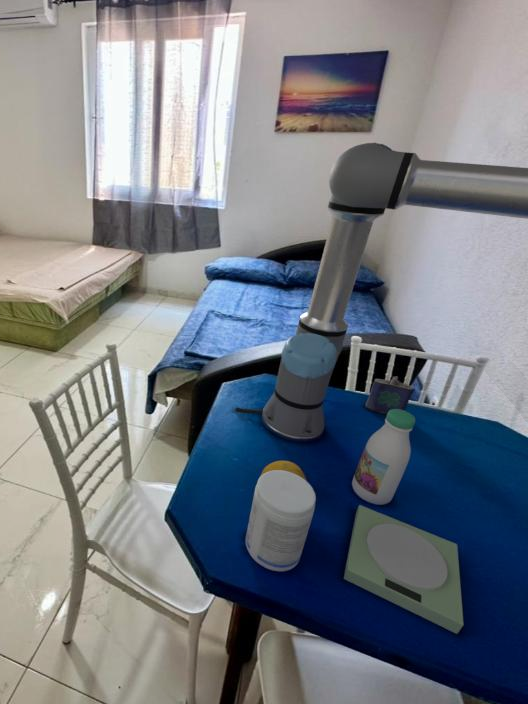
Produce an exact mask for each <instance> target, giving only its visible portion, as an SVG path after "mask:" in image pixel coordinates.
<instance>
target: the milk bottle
mask: <svg viewBox="0 0 528 704" xmlns="http://www.w3.org/2000/svg"><path fill="white" fill-rule="evenodd" d="M415 424H416V417H415V416H414V415H413V414H411V413H410V412H408V411H406V410H405V411H404V410H400V409H391V410H389V412H388V413H386V417H385V419H384V424H383V425H382V426H381V427H380V428H379V429H378V430H376V431H375V432H374V433H373V434H371V436H370V437H369V439H368V440H367V442H366V444H365V447H364V449H363V451H362V454H361V457H360V458H359V462H358V464H357V467H356V469H355V472H354V475H353V478H352V481H351V486H352V489H353V491H354V493H355V494H356V495H357V496H358V497H359V498H360V499H362V500H364V501H366V502H367V503H370V504H373V505H378V506H382V505H387V504H389V503H390V502H391V501H392V500H393V498H394V496H395V494H396V491H397V489H398V487H399V484H400V482H401V481H402V478H403V476H404V473H405V471H406V468H407V466H408V464H409V461H410V459H411V451H412V450H411V449H412V448H411V442H410V432H412V430H413V428H414V426H415Z"/></svg>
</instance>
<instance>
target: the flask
mask: <svg viewBox="0 0 528 704" xmlns="http://www.w3.org/2000/svg"><path fill="white" fill-rule="evenodd" d="M391 378H392V379H390V380H388V379H382V378H375V379H374V381H373V383H372V386H371V389H370V391H369V394H368V398H367V399H366V403H365V409H368V410H370V411H373V412H378V413H382V414H387V413H388V412H389V410H391V409H400V410H404V411H406V408H407V407H408V403H409V401H410V399H411V397H412V394H413V392H414V388H413V386H412V385H409V384H407V383H405V382H404V383H402V382H401V381H400V380H398V379H399V377H398V376H396V375H395V376H394V375H393V376H392V377H391Z"/></svg>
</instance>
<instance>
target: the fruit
mask: <svg viewBox="0 0 528 704" xmlns="http://www.w3.org/2000/svg"><path fill="white" fill-rule="evenodd" d="M273 470H283V471H288V472H291V473H294V474H296V475H298V476H300V477H301V478H303V479H304V480H306V481H307V478H306V475H305V473H304V472H303V470H302V469H301V468H300V466H299V465H297V464H296V463H294V462H291V461H289V460H276V461H273V462H271V463H269V464H267V465H266V466H265V467H264V468H263V470H262V471H261V474H260V476H261V475H263V474H264V473H266V472H268V471H273Z"/></svg>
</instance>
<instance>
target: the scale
mask: <svg viewBox="0 0 528 704" xmlns="http://www.w3.org/2000/svg"><path fill="white" fill-rule="evenodd" d="M348 548H349V549H348V553H347V558H346V564H345V569H344V575H343V580H345V581H347V582H349V583H352V584H353V585H356V586H358V587H360V588H362V589H364V590H365V591H368V592H369V593H372V594H373V595H376V596H378V597H379V598H382V599H384V600H386V601H388V602H390V603H392V604H394V605H397V606H399V607H401V608H403V609H404V610H407V611H409V612H411V613H413V614H415V615H417V616H419V617H421V618H423V619H425V620H427V621H429V622H431V623H433V624H436V625H438V626H440V627H442V628H444V629H446V630H448V631H450V632H451V633H453V634H456V635H458V634H459V632H460V631H461V630H462V628H463V627H464V624H465V623H464V613H463V599H462V587H461V576H460V575H461V573H460V560H459V550H458V544H457V543H455V542H452V541H451V540H447V539H446V538H443V537H440V536H437V535H435V534H433V533H430V532H428V531H426V530H423V529H420V528H418V527H415V526H413V525H411V524H408V523H406V522H403V521H400V520H398V519H396V518H394V517H390V516H388V515H386V514H383V513H381V512H378V511H376V510H373V509H371V508H369V507H366V506H364V505H361V504H359V505H358V507H357V510H356V512H355V517H354V521H353V527H352V533H351V537H350V543H349V547H348Z"/></svg>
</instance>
